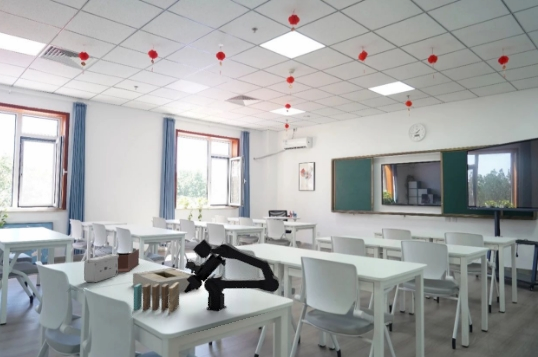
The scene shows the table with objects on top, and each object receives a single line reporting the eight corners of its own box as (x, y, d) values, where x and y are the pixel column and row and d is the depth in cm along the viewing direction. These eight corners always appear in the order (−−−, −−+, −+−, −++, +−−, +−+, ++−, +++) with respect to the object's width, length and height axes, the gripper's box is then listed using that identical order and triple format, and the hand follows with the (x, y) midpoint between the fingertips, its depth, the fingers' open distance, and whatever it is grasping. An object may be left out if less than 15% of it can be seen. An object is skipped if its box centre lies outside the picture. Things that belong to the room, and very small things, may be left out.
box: (199, 289, 194) (170, 278, 217) (199, 274, 194) (170, 265, 217) (158, 298, 178) (132, 286, 201) (158, 282, 178) (132, 272, 201)
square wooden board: (179, 304, 163) (179, 282, 164) (172, 312, 153) (172, 288, 153) (175, 304, 163) (175, 282, 164) (168, 312, 153) (168, 288, 153)
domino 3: (159, 306, 161) (159, 283, 161) (155, 310, 156) (155, 286, 156) (155, 306, 161) (156, 283, 161) (152, 310, 156) (152, 286, 156)
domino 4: (168, 306, 161) (168, 283, 161) (165, 310, 156) (165, 286, 156) (164, 306, 161) (165, 283, 161) (161, 310, 156) (161, 286, 156)
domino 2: (150, 306, 161) (150, 283, 161) (146, 310, 156) (146, 286, 156) (146, 306, 161) (147, 283, 161) (142, 310, 156) (142, 286, 156)
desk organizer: (112, 273, 234) (112, 255, 235) (124, 264, 263) (124, 249, 264) (128, 272, 235) (129, 255, 236) (139, 264, 265) (139, 248, 265)
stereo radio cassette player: (108, 275, 228) (108, 242, 229) (119, 275, 226) (120, 243, 227) (83, 282, 208) (83, 247, 209) (95, 283, 206) (95, 247, 207)
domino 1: (141, 306, 161) (141, 283, 161) (137, 310, 156) (137, 286, 156) (138, 306, 161) (138, 283, 161) (133, 310, 156) (133, 286, 156)
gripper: (200, 250, 168) (177, 274, 168) (191, 256, 150) (165, 284, 149) (218, 266, 168) (194, 291, 167) (210, 275, 149) (184, 303, 149)
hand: (185, 292), depth 158 cm, fingers closed
